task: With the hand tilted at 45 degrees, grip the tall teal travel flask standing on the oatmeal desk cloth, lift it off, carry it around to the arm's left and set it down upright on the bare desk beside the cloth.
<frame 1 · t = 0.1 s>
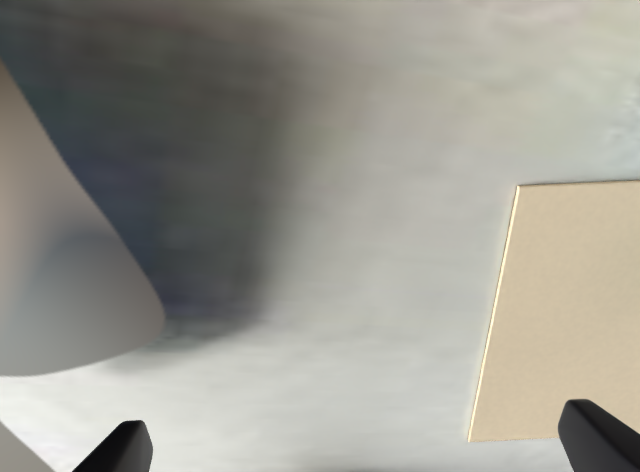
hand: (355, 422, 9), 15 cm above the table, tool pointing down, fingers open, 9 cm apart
cloth: (614, 328, 27), on the table
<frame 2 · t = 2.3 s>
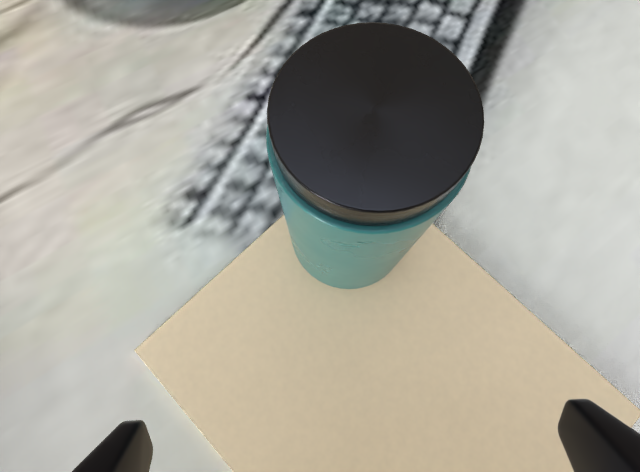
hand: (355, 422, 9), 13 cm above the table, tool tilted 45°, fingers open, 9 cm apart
flask: (347, 233, 23), resting on cloth
cloth: (381, 380, 21), on the table
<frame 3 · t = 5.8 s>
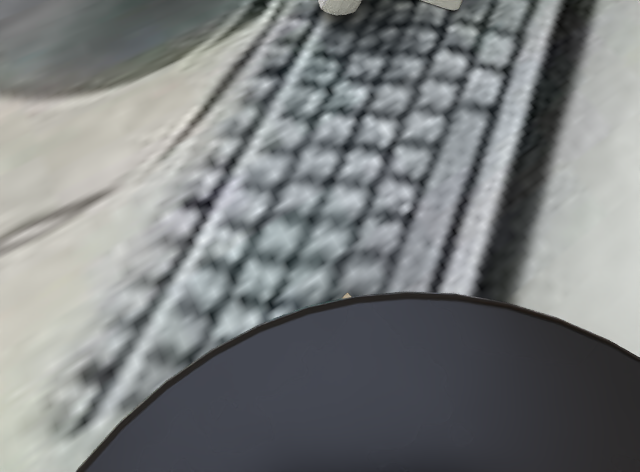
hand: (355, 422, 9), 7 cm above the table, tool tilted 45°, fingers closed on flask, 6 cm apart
flask: (343, 441, 14), resting on cloth, touching gripper
when the fingers open (6 cm above the table, at t = 13.5 s): flask stays where it is, on the table.
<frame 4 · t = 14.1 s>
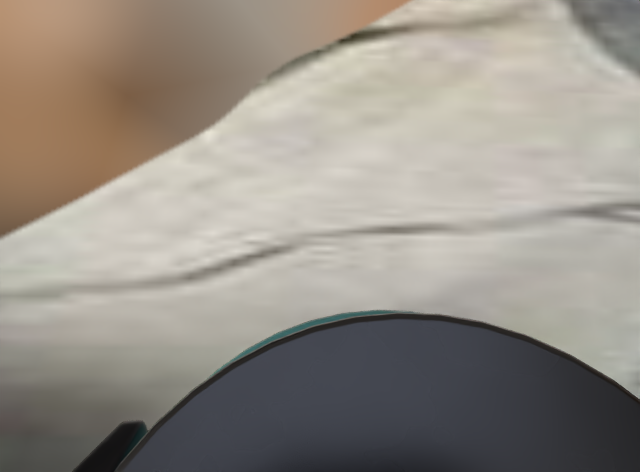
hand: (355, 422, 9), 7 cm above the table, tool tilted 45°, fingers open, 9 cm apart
flask: (343, 441, 15), on the table
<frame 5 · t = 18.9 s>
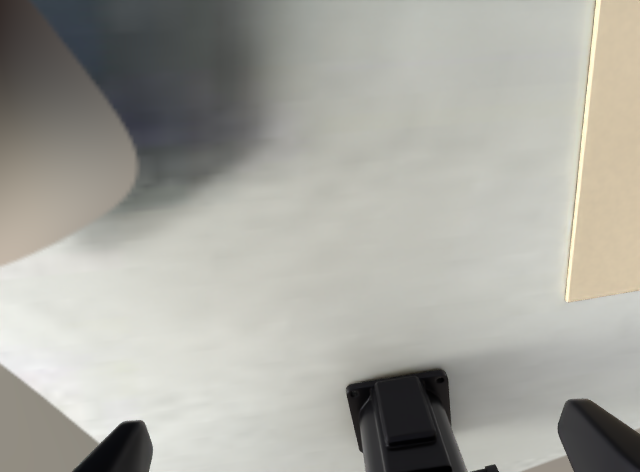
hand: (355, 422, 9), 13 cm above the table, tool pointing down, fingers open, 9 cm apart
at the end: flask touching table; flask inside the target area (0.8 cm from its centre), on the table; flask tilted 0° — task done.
